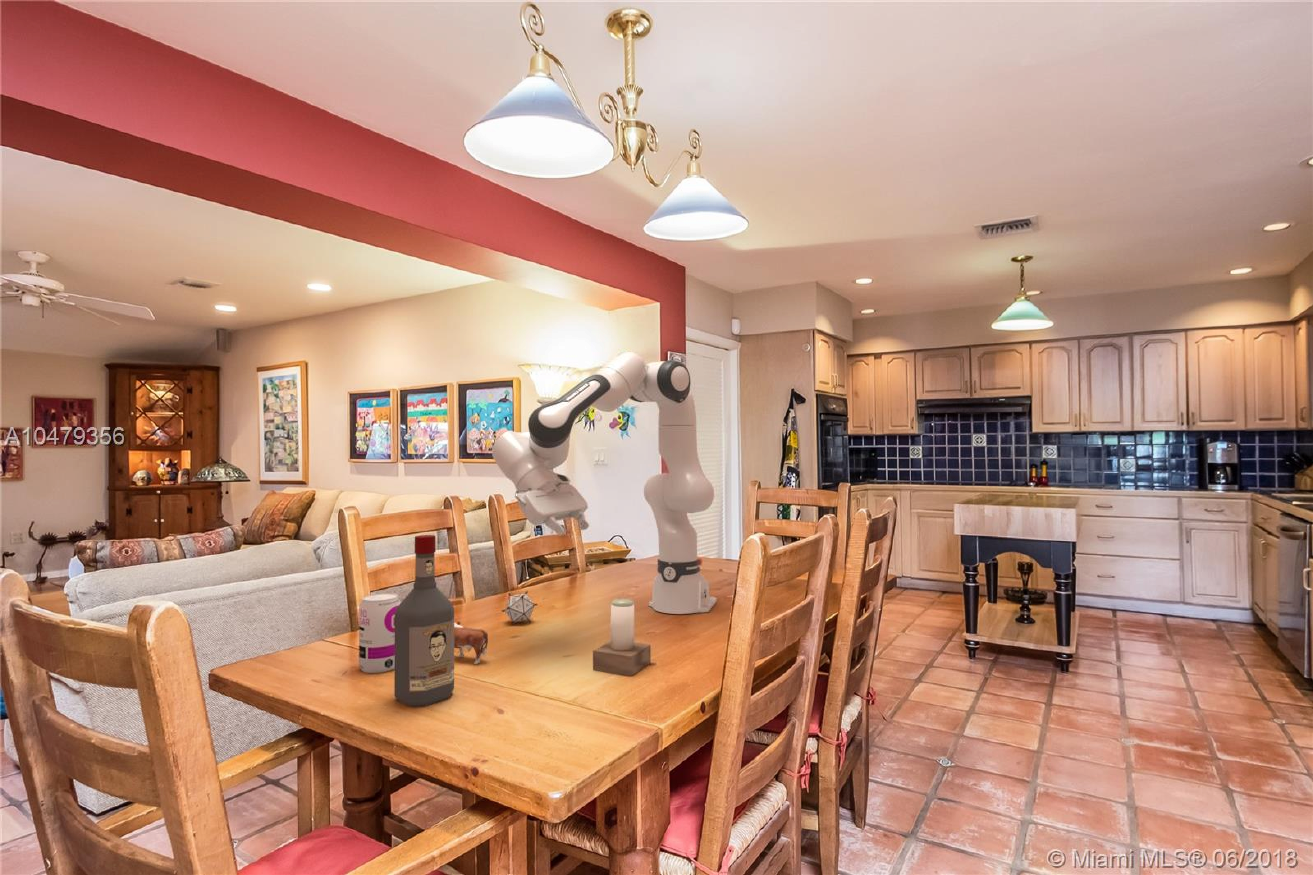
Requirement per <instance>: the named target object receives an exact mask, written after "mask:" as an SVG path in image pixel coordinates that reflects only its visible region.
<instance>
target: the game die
mask: <svg viewBox="0 0 1313 875" xmlns="http://www.w3.org/2000/svg"><path fill="white" fill-rule="evenodd" d="M528 592H529V591H528V590H525V593H518V594H511V592H510V593H509V592H507V595H508V596H509V597H508V598H507V602H506V605H505V608H504V609H501V612H502V613H506V615H507V617H508V618H509V619H510V620H511V624H510V625H511V626H513V625H514V623H520V622H526V621H528V623H532V620H531V616H532V613H533V611H534V608H535V606H537V605H538V603H534V602H533V601H532V599H531V598H530V597H529V596H528Z"/></svg>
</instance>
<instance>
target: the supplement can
mask: <svg viewBox="0 0 1313 875" xmlns="http://www.w3.org/2000/svg"><path fill="white" fill-rule="evenodd" d="M401 602H402V601H401V600H400V598H399V595H398V594H397V593H390V592H387V593H385V592H384V593H373V594H369V595H364V597H362V599H361V601H360V603H359V605H358V606H359V609H358V613H359V614H358V615H359V617H358V619H359V620H358V623H359V624H358V629H359V630H358V668H359V669H360V670H361V672H363V673H366V674H367V673H368V674H380V673H387V672H390V671H393V670H395V612H396V609H397V607H398V606H399V605H400V603H401Z"/></svg>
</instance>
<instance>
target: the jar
mask: <svg viewBox="0 0 1313 875" xmlns="http://www.w3.org/2000/svg"><path fill="white" fill-rule="evenodd" d="M611 602H612V603H611V604H610V641H611V645H610V647H611V649H614V650H621V651H623V650H631V649H633V648H634V642H635V604H634V600H633V599H629V598H615V599H612V601H611Z"/></svg>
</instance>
